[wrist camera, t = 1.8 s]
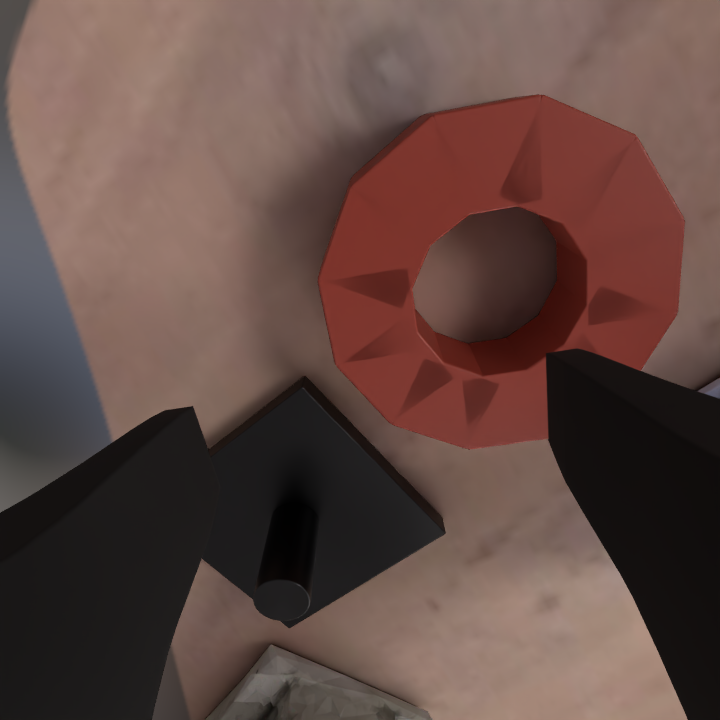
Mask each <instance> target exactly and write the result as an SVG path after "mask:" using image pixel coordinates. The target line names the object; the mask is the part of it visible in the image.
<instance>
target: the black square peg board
mask: <svg viewBox="0 0 720 720" xmlns="http://www.w3.org/2000/svg"><path fill="white" fill-rule="evenodd" d="M208 451H209V454H210V457H211V460H212V463H213V466H214V469H215V472H216V475H217V478H218V481H219V483H220V491H219V497H218V502H217V508H216V513H215V517H214V522H213V526H212V530H211V533H210V536H209V539H208V542H207V544H206V547H205V550H204V553H203V556H202V559H203V560H205V561H206V562H207V563H208V564H210V565H211V566H212V567H213V568H215V569H216V570H217V571H218V572H220V573H221V574H222V575H223V576H225V577H226V578H227V579H228V580H229V581H231V582H232V583H233V584H234V585H236V586H237V587H238V588H239V589H241V590H242V591H243V592H244V593H246V594H247V595H248V596H249V597H251V598H252V599H253V602H254V605H255V607H256V609H257V610H258V611H259V612H260V613H261V614H263V615H264V616H266V617H268V618H270V619H273V620H278V621H281V622H282V623H283V624H284V625H286V626H287V627H288V628H291V627H293V626H294V625H296V624H298V623H299V622H301V621H302V620H304V619H306V618H307V617H309V616H311V615H312V614H314V613H316V612H317V611H319V610H321V609H322V608H324V607H326V606H327V605H329V604H330V603H332V602H334V601H335V600H337V599H339V598H340V597H342V596H344V595H345V594H347V593H349V592H350V591H352V590H354V589H355V588H357V587H358V586H360V585H362V584H363V583H365V582H367V581H368V580H370V579H372V578H373V577H375V576H377V575H378V574H380V573H382V572H383V571H385V570H386V569H388V568H390V567H391V566H393V565H395V564H396V563H398V562H400V561H401V560H403V559H405V558H406V557H408V556H410V555H411V554H413V553H414V552H416V551H418V550H419V549H421V548H423V547H424V546H426V545H428V544H429V543H431V542H433V541H434V540H436V539H438V538H439V537H441V536H442V535H444V534H445V533H446V532H445V527H444V522H443V518H442V517H441V516H440V515H439V514H438V513H437V512H436V511H435V509H434V508H433V507H432V506H431V505H430V504H429V503H428V502H427V501H426V500H425V499H424V498H423V497H422V496H421V495H420V494H419V493H418V492H417V491H416V490H415V489H414V488H413V487H412V486H411V485H410V484H409V483H408V482H407V481H406V480H405V479H404V477H403V476H402V475H401V474H400V473H399V472H398V471H397V470H396V469H395V468H394V467H393V466H392V465H391V464H390V463H389V462H388V461H387V460H386V459H385V458H384V457H383V456H382V455H381V454H380V453H379V452H378V451H377V450H376V449H375V448H374V447H373V446H372V444H371V443H370V442H369V441H368V440H367V439H366V438H365V437H364V436H363V435H362V434H361V433H360V432H359V431H358V430H357V429H356V428H355V427H354V426H353V425H352V424H351V423H350V422H349V421H348V420H347V419H346V418H345V417H344V416H343V415H342V414H341V412H340V411H339V410H338V409H337V408H336V407H335V406H334V405H333V404H332V403H331V402H330V401H329V400H328V399H327V398H326V397H325V396H324V395H323V394H322V393H321V392H320V391H319V390H318V389H317V388H316V387H315V386H314V385H313V384H312V383H311V382H310V381H309V379H308V378H307V377H306V376H304V377H302V378H301V379H300V380H298V381H297V382H296V383H295V384H293V385H292V386H291V387H289V388H288V389H287V390H286V391H284V392H283V393H282V394H280V395H279V396H278V397H276V398H275V399H274V400H273V401H271V402H270V403H269V404H267V405H266V406H265V407H263V408H262V409H261V410H260V411H258V412H257V413H256V414H254V415H253V416H252V417H251V418H249V419H248V420H247V421H245V422H244V423H243V424H241V425H240V426H239V427H238V428H236V429H235V430H234V431H232V432H231V433H230V434H229V435H227V436H226V437H225V438H223V439H222V440H221V441H219V442H218V443H217V444H216V445H214V446H213V447H212V448H210V449H209V450H208Z"/></svg>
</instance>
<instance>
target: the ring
mask: <svg viewBox="0 0 720 720" xmlns="http://www.w3.org/2000/svg"><path fill="white" fill-rule="evenodd" d="M512 207H520V208H523V209H525V210H528V211H530V212H533V213H535V214H538V215H539V216H540V218H541V219H542V221H543V222H544V224H545V225H546V227H547V228H548V230H549V231H550V233H551V234H552V236H553V237H554V238H555V240H556V248H557V281H556V283H555V285H554V287H553V289H552V291H551V293H550V294H549V296H548V298H547V300H546V302H545V304H544V306H543V307H542V309H541V311H540V313H539V315H538V316H537V317H535V318H534V319H533V320H531V321H530V322H528V323H527V324H525V325H524V326H523V327H521V328H520V329H518V330H517V331H515V332H514V333H513V334H511V335H510V336H508V337H507V338H502V339H495V340H489V341H482V342H476V343H469V344H467V343H464V342H462V341H459V340H456V339H453V338H450V337H447V336H445V335H442V334H439V333H436V332H434V331H433V330H432V329H431V327H430V326H429V325H428V324H427V322H426V321H425V320H424V319H423V318H422V316H421V315H420V314H419V313H418V312H417V310H416V309H415V306H414V299H413V292H412V288H413V285H414V283H415V281H416V278H417V276H418V274H419V271H420V269H421V266H422V264H423V262H424V259H425V257H426V255H427V252H428V250H429V248H430V246H431V245H432V244H433V243H434V242H436V241H437V240H438V239H439V238H441V237H442V236H443V235H444V234H446V233H447V232H448V231H449V230H451V229H452V228H453V227H455V226H456V225H457V224H458V223H460V222H461V221H462V220H463V219H465V218H466V217H467V216H468V215H471V214H477V213H483V212H489V211H495V210H500V209H506V208H512ZM684 225H685V220H684V217H683V215H682V214H681V212H680V210H679V208H678V207H677V205H676V203H675V201H674V200H673V198H672V196H671V194H670V193H669V191H668V189H667V187H666V186H665V184H664V182H663V181H662V179H661V177H660V175H659V174H658V172H657V170H656V168H655V167H654V165H653V163H652V161H651V160H650V158H649V156H648V154H647V153H646V151H645V149H644V147H643V146H642V144H641V142H640V140H639V139H638V137H636V135H635V134H633V133H631V132H628V131H626V130H624V129H621V128H619V127H617V126H614V125H612V124H610V123H607V122H605V121H603V120H600V119H598V118H596V117H594V116H591V115H589V114H587V113H584V112H582V111H580V110H577V109H575V108H573V107H570V106H568V105H566V104H564V103H561V102H559V101H557V100H554V99H552V98H550V97H547V96H545V95H530V96H522V97H514V98H509V99H503V100H498V101H493V102H487V103H482V104H477V105H471V106H466V107H461V108H455V109H450V110H445V111H439V112H434V113H429V114H424V115H423V116H420V117H419V118H418V119H417V120H416V121H414V122H413V123H412V124H411V125H410V126H409V127H408V128H407V129H405V130H404V131H403V132H402V133H401V134H400V135H399V136H397V137H396V138H395V139H394V140H393V141H392V142H391V143H389V144H388V145H387V146H386V147H385V148H384V149H383V150H381V151H380V152H379V153H378V154H377V155H376V156H375V157H374V158H372V159H371V160H370V161H369V162H368V163H367V164H366V165H364V166H363V167H362V168H361V169H360V170H359V171H358V172H356V173H355V174H354V175H353V177H352V178H351V180H350V183H349V186H348V188H347V191H346V194H345V197H344V200H343V203H342V206H341V209H340V212H339V215H338V217H337V220H336V223H335V226H334V229H333V232H332V235H331V238H330V241H329V244H328V246H327V249H326V252H325V255H324V258H323V262H322V265H321V269H320V272H319V276H318V286H319V291H320V296H321V301H322V305H323V310H324V315H325V320H326V324H327V329H328V334H329V339H330V343H331V348H332V353H333V358H334V362H335V365H336V366H337V367H338V369H339V370H340V371H341V372H342V373H343V374H344V375H345V376H346V377H347V378H348V379H349V380H350V381H351V382H352V384H353V385H354V386H355V387H356V388H357V389H358V390H359V391H360V392H361V393H362V394H363V395H364V396H365V397H366V399H367V400H368V401H369V402H370V403H371V404H372V405H373V406H374V407H375V408H376V409H377V410H378V411H379V412H380V413H381V415H382V416H383V417H384V418H385V419H386V420H387V421H388V422H389V423H391V424H392V425H394V426H397V427H400V428H404V429H407V430H410V431H413V432H416V433H419V434H422V435H425V436H428V437H431V438H434V439H437V440H441V441H444V442H447V443H450V444H453V445H456V446H459V447H462V448H465V449H467V448H468V449H469V450H470V449H477V448H484V447H491V446H499V445H506V444H513V443H520V442H528V441H535V440H542V439H548V410H547V379H546V353H549V352H556V351H563V350H569V349H576V348H578V349H583V350H586V351H589V352H592V353H595V354H598V355H601V356H603V357H606V358H609V359H611V360H614V361H616V362H619V363H622V364H624V365H627V366H629V367H632V368H634V369H637V370H639V371H641V369H642V368H643V366H644V365H645V363H646V362H647V360H648V358H649V357H650V355H651V354H652V352H653V351H654V349H655V348H656V346H657V345H658V343H659V342H660V340H661V338H662V337H663V335H664V334H665V332H666V331H667V329H668V328H669V326H670V325H671V323H672V322H673V320H674V318H675V317H676V315H677V313H678V304H679V291H680V278H681V265H682V252H683V238H684Z"/></svg>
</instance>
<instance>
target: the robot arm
mask: <svg viewBox="0 0 720 720" xmlns="http://www.w3.org/2000/svg"><path fill="white" fill-rule="evenodd" d="M546 379H547V410H548V441H549V443H550V446H551V448H552V451H553V453H554V456H555V458H556V461H557V463H558V466H559V468H560V470H561V473H562V475H563V477H564V480H565V482H566V484H567V485H568V487H569V489H570V491H571V492H572V494H573V496H574V497H575V499H576V501H577V502H578V504H579V506H580V508H581V509H582V511H583V513H584V514H585V516H586V518H587V519H588V521H589V523H590V524H591V526H592V528H593V529H594V531H595V533H596V534H597V536H598V538H599V539H600V541H601V543H602V544H603V546H604V548H605V549H606V551H607V553H608V554H609V556H610V558H611V559H612V561H613V563H614V564H615V566H616V568H617V569H618V571H619V573H620V574H621V576H622V578H623V580H624V582H625V584H626V585H627V587H628V589H629V591H630V593H631V595H632V597H633V599H634V601H635V603H636V605H637V607H638V609H639V611H640V614H641V616H642V618H643V620H644V622H645V624H646V626H647V629H648V631H649V633H650V635H651V637H652V639H653V642H654V644H655V646H656V648H657V650H658V652H659V655H660V657H661V659H662V662H663V664H664V666H665V668H666V671H667V673H668V675H669V677H670V680H671V682H672V684H673V687H674V689H675V691H676V693H677V696H678V698H679V700H680V702H681V705H682V707H683V709H684V712H685V714H686V716H687V719H688V720H720V378H718V379H717V380H715V381H713V382H712V383H710V384H708V385H707V386H705V387H703V388H702V389H700V390H698V391H695V390H692V389H689V388H686V387H683V386H680V385H677V384H674V383H672V382H669V381H666V380H663V379H661V378H658V377H655V376H653V375H650V374H647V373H645V372H642V371H639V370H637V369H634V368H632V367H629V366H627V365H624V364H622V363H619V362H616V361H614V360H611V359H609V358H606V357H603V356H601V355H598V354H595V353H592V352H589V351H586V350H583V349H578V348H576V349H569V350H563V351H556V352H549V353H546ZM219 491H220V483H219V481H218V478H217V475H216V472H215V469H214V466H213V463H212V460H211V457H210V454H209V451H208V448H207V446H206V443H205V440H204V437H203V434H202V431H201V428H200V425H199V422H198V419H197V416H196V413H195V411H194V408H193V406H191V407H185V408H178V409H172V410H165V411H163V412H161V413H159V414H157V415H155V416H153V417H151V418H149V419H148V420H146V421H144V422H143V423H141V424H140V425H138V426H137V427H135V428H134V429H132V430H130V431H129V432H127V433H126V434H125V435H123V436H122V437H120V438H119V439H117V440H116V441H114V442H113V443H111V444H110V445H108V446H107V447H105V448H104V449H102V450H101V451H99V452H98V453H96V454H95V455H93V456H92V457H90V458H89V459H88V460H86V461H85V462H83V463H81V464H80V465H78V466H77V467H75V468H74V469H72V470H70V471H69V472H67V473H66V474H64V475H63V476H61V477H59V478H58V479H56V480H55V481H53V482H52V483H50V484H48V485H47V486H45V487H44V488H42V489H40V490H39V491H37V492H36V493H34V494H32V495H31V496H29V497H28V498H26V499H24V500H22V501H20V502H19V503H17V504H15V505H13V506H12V507H10V508H8V509H6V510H4V511H2V512H1V513H0V720H152V716H153V711H154V707H155V703H156V699H157V695H158V691H159V687H160V683H161V679H162V675H163V671H164V667H165V663H166V659H167V655H168V651H169V648H170V645H171V642H172V639H173V636H174V633H175V629H176V626H177V624H178V621H179V618H180V616H181V613H182V610H183V607H184V605H185V602H186V599H187V597H188V594H189V591H190V588H191V586H192V583H193V580H194V578H195V575H196V572H197V569H198V567H199V564H200V561H201V558H202V556H203V553H204V550H205V547H206V544H207V542H208V539H209V536H210V533H211V530H212V526H213V522H214V517H215V513H216V508H217V502H218V497H219Z"/></svg>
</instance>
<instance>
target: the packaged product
mask: <svg viewBox="0 0 720 720" xmlns="http://www.w3.org/2000/svg"><path fill="white" fill-rule="evenodd" d="M205 720H432V718H431V717H430V715H429V713H428V712H427V711H425V710H423V709H420V708H418V707H416V706H414V705H411V704H409V703H407V702H404V701H402V700H400V699H398V698H395V697H393V696H391V695H389V694H386V693H384V692H382V691H379V690H377V689H375V688H373V687H370V686H368V685H366V684H363V683H361V682H359V681H357V680H354V679H352V678H350V677H347V676H345V675H343V674H340V673H338V672H336V671H333V670H331V669H328V668H326V667H324V666H321V665H319V664H317V663H314V662H312V661H309V660H307V659H305V658H302V657H300V656H298V655H295V654H293V653H290V652H288V651H286V650H283V649H281V648H279V647H276V646H274V645H270V646H269V647H268V648H267V650H266V651H265V652H264V653H263V655H262V656H261V657H260V658H259V660H258V661H257V662H256V664H255V665H254V666H253V667H252V669H251V670H250V671H249V672H248V674H247V675H246V676H245V677H244V678H243V679H242V681H241V682H240V683H239V684H238V685H237V686H236V687H235V688H234V689H233V690H232V691H231V692H230V694H229V695H228V696H227V697H226V698H225V699H224V700H223V701H222V702H221V703H220V704H219V705H218V706H217V708H216V709H215V710H214V711H213V712H212V713H211V714H210V715H209V716H208V717H207V718H206V719H205Z"/></svg>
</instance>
